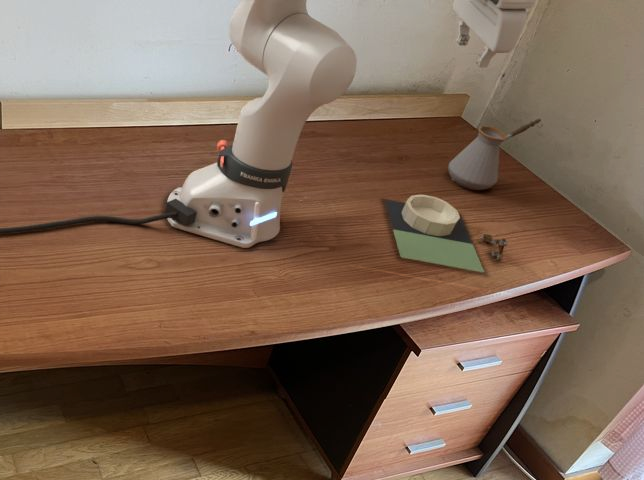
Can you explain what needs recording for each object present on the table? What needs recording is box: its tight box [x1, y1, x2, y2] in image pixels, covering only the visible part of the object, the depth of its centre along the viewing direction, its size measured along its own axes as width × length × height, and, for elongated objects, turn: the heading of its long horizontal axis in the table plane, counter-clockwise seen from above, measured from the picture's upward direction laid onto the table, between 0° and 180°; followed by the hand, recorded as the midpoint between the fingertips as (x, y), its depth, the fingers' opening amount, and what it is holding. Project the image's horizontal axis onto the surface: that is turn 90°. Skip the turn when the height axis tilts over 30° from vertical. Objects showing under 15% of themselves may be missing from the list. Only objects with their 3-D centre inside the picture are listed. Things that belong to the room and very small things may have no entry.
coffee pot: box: [448, 118, 544, 191], centre depth 166 cm, size 21×12×15 cm, turn 119°
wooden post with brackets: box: [481, 233, 508, 262], centre depth 146 cm, size 2×8×4 cm, turn 1°
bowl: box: [402, 194, 460, 236], centre depth 150 cm, size 11×11×3 cm
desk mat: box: [384, 199, 485, 273], centre depth 148 cm, size 17×22×1 cm
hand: (471, 54), depth 141 cm, fingers open, 8 cm apart
